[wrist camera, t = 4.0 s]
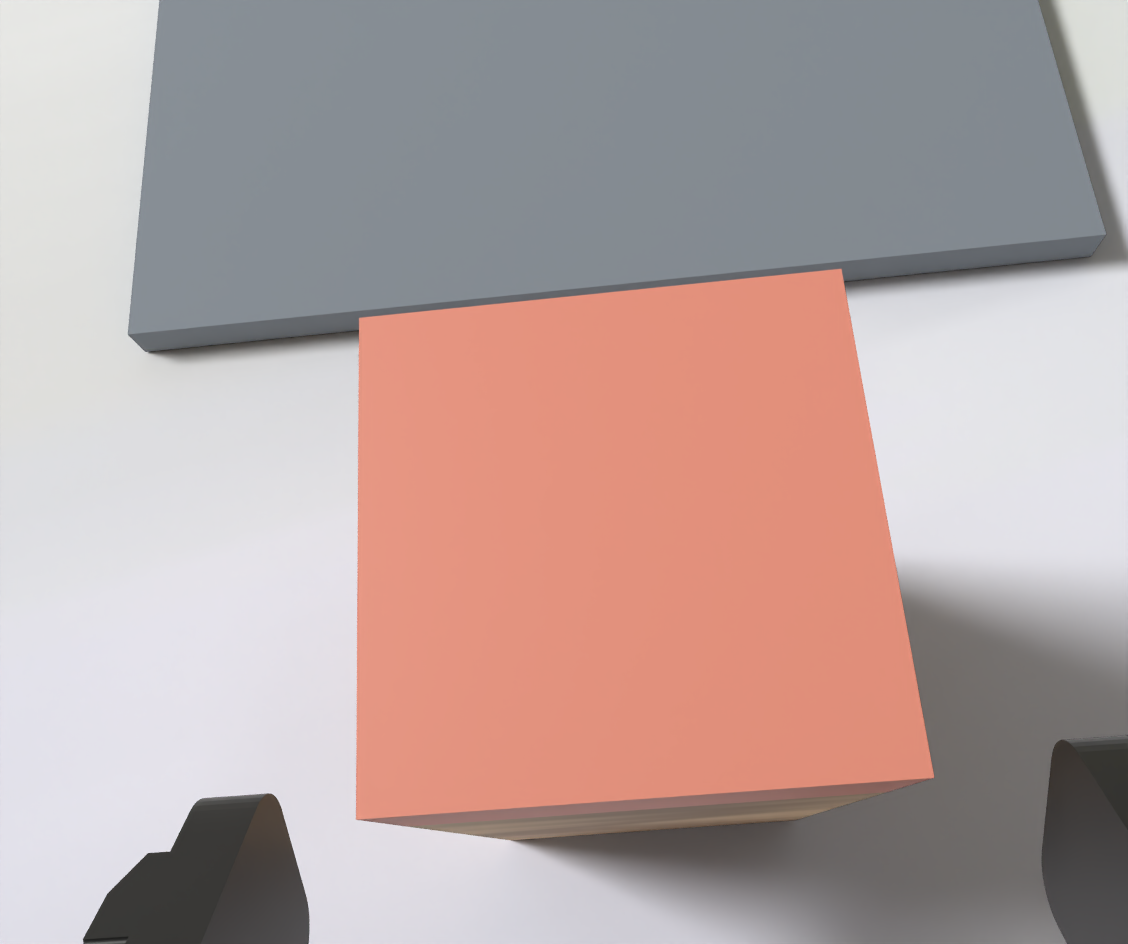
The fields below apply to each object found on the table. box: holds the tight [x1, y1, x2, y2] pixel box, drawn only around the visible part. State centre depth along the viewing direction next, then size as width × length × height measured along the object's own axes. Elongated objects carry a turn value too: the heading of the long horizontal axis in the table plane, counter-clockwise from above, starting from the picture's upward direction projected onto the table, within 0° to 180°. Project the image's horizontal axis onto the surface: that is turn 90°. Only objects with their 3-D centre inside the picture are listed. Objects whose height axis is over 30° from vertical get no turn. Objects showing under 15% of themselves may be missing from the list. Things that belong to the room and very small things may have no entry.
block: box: [356, 269, 934, 840], centre depth 15 cm, size 5×5×10 cm
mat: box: [128, 0, 1106, 352], centre depth 24 cm, size 20×14×1 cm
